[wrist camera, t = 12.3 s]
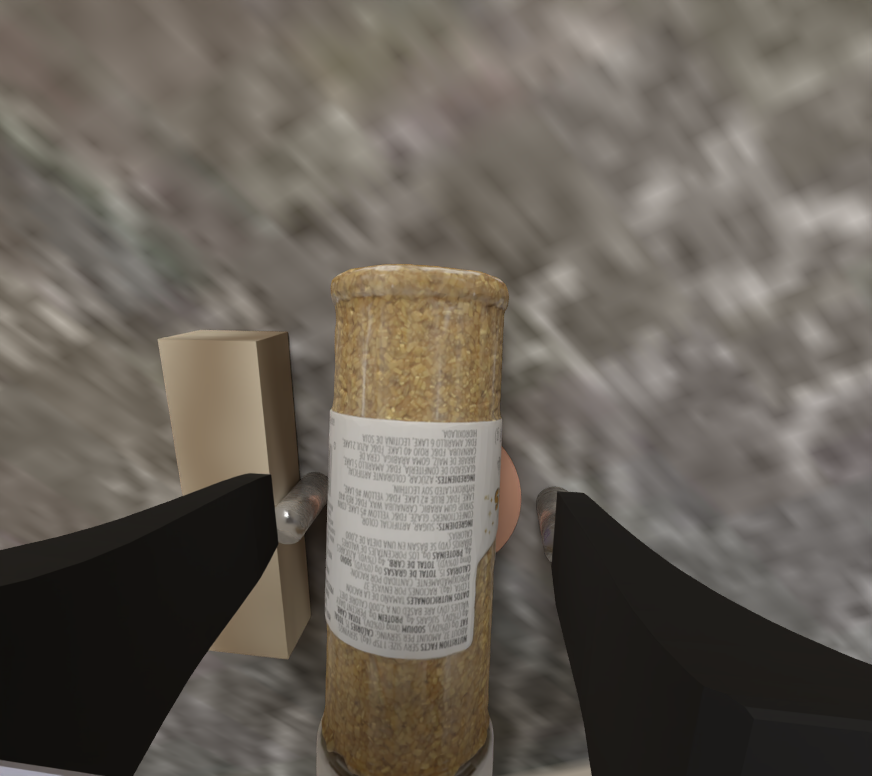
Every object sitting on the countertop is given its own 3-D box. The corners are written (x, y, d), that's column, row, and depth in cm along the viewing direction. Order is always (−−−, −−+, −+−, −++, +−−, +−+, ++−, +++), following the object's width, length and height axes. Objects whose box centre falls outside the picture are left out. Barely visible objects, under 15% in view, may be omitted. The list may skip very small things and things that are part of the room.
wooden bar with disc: (530, 336, 14) (536, 348, 12) (513, 636, 16) (515, 685, 15) (201, 329, 15) (157, 339, 13) (238, 608, 18) (207, 649, 16)
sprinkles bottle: (478, 298, 14) (463, 714, 15) (328, 287, 13) (319, 733, 14) (544, 266, 10) (518, 866, 10) (324, 247, 9) (309, 911, 9)
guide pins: (574, 487, 15) (590, 531, 12) (562, 623, 16) (574, 685, 14) (299, 471, 16) (263, 507, 13) (309, 598, 17) (279, 652, 15)
